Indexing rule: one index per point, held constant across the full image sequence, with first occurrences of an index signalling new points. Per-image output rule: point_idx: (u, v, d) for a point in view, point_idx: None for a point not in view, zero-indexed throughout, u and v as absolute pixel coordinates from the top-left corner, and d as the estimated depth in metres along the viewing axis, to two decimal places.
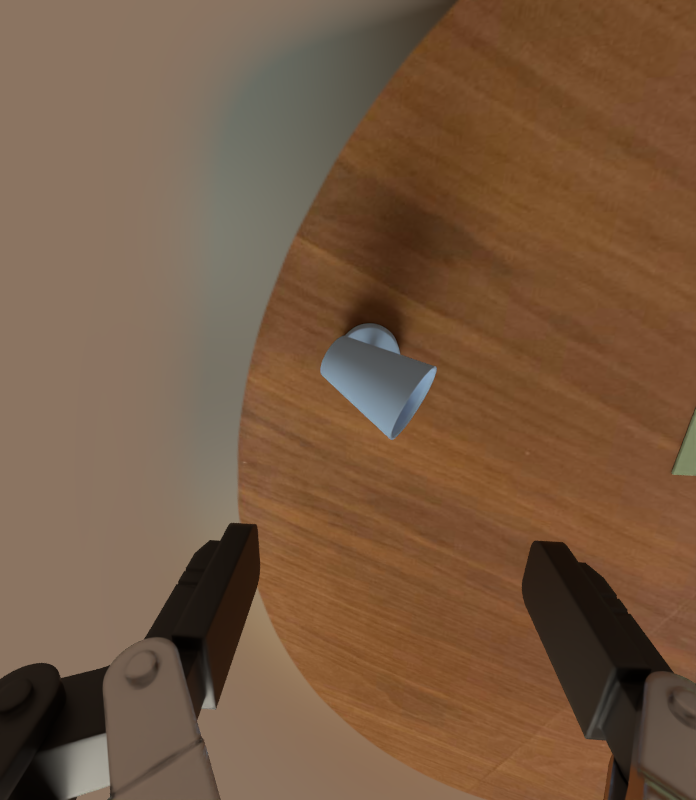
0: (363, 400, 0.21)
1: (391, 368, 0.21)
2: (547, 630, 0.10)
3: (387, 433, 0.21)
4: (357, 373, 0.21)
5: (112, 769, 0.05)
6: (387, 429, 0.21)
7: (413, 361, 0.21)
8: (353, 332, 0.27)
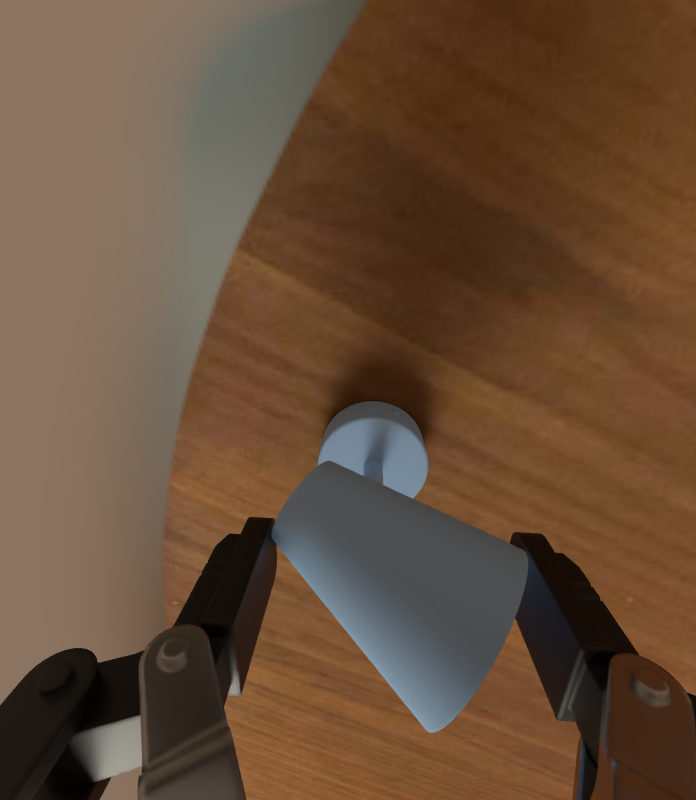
0: (361, 641, 0.09)
1: (429, 581, 0.09)
2: (524, 618, 0.10)
3: None
4: (347, 579, 0.09)
5: (144, 747, 0.06)
6: (418, 720, 0.09)
7: (478, 552, 0.09)
8: (344, 425, 0.15)
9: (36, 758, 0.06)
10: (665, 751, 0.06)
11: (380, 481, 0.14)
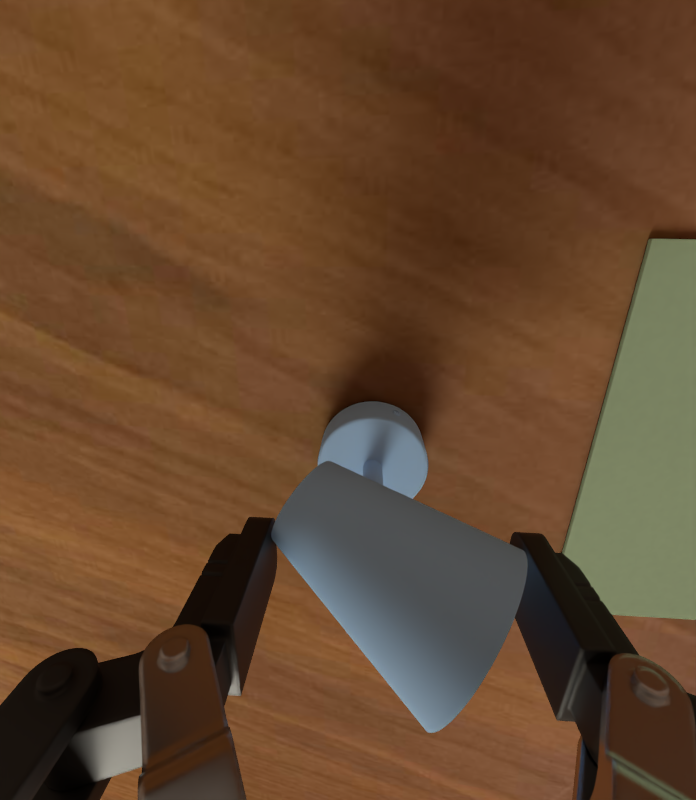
0: (361, 641, 0.09)
1: (428, 581, 0.09)
2: (524, 618, 0.10)
3: (417, 717, 0.09)
4: (347, 579, 0.09)
5: (145, 747, 0.06)
6: (418, 720, 0.09)
7: (478, 552, 0.09)
8: (343, 425, 0.15)
9: (36, 758, 0.06)
10: (664, 751, 0.06)
11: (380, 481, 0.14)
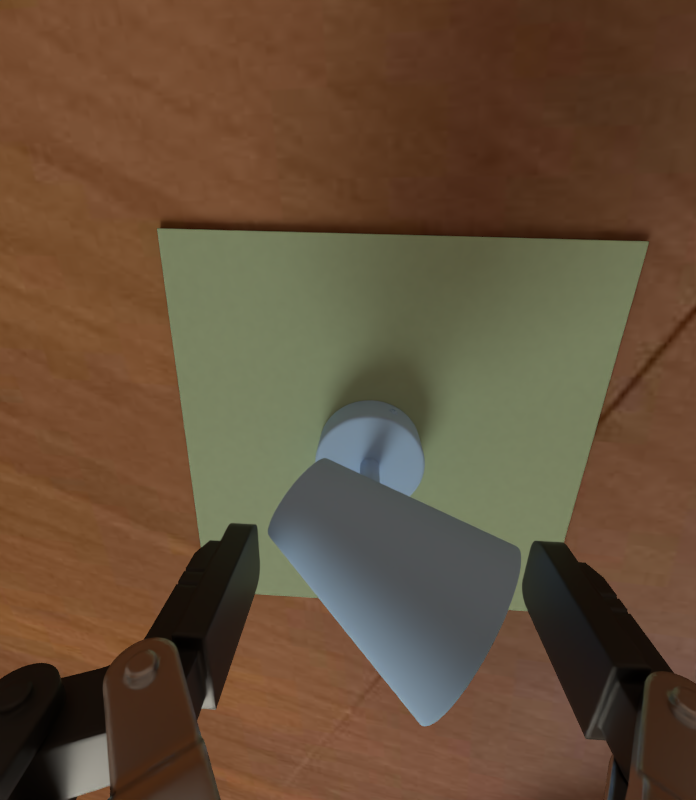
0: (356, 636, 0.09)
1: (423, 576, 0.09)
2: (547, 630, 0.10)
3: (411, 712, 0.09)
4: (342, 574, 0.09)
5: (112, 769, 0.05)
6: (412, 714, 0.09)
7: (472, 548, 0.09)
8: (341, 423, 0.15)
9: None
10: None
11: (376, 479, 0.14)
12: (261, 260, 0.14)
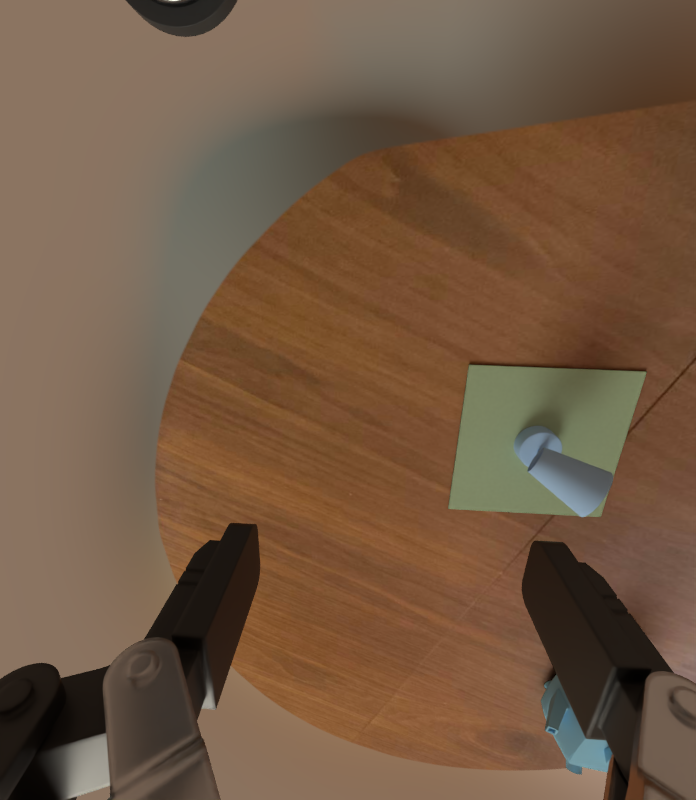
0: (567, 494, 0.34)
1: (588, 476, 0.34)
2: (547, 630, 0.10)
3: (582, 514, 0.34)
4: (564, 477, 0.34)
5: (112, 769, 0.05)
6: (584, 513, 0.34)
7: (599, 470, 0.34)
8: (532, 435, 0.40)
9: None
10: None
11: None
12: (505, 376, 0.40)
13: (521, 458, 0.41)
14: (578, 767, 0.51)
